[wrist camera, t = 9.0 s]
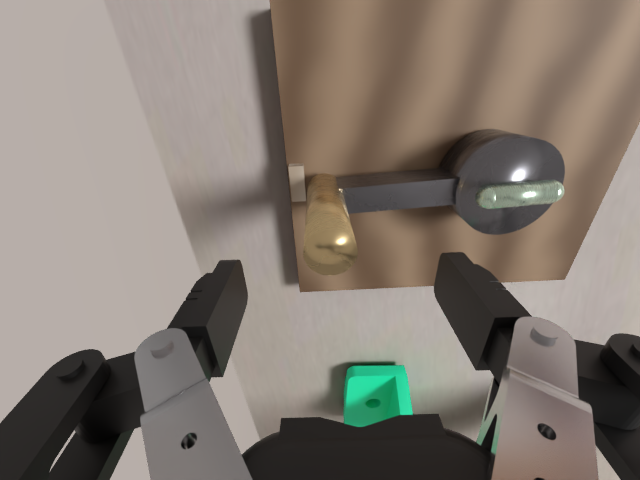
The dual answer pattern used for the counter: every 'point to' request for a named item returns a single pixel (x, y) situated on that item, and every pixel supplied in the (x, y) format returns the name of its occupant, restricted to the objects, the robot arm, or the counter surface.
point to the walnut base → (453, 118)
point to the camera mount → (375, 394)
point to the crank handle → (438, 193)
